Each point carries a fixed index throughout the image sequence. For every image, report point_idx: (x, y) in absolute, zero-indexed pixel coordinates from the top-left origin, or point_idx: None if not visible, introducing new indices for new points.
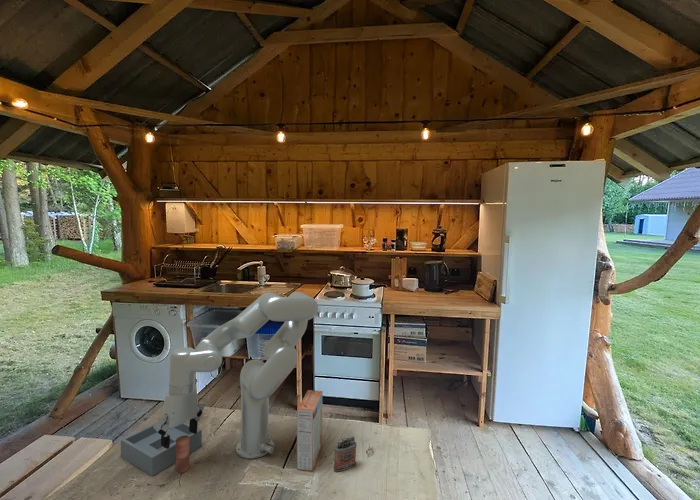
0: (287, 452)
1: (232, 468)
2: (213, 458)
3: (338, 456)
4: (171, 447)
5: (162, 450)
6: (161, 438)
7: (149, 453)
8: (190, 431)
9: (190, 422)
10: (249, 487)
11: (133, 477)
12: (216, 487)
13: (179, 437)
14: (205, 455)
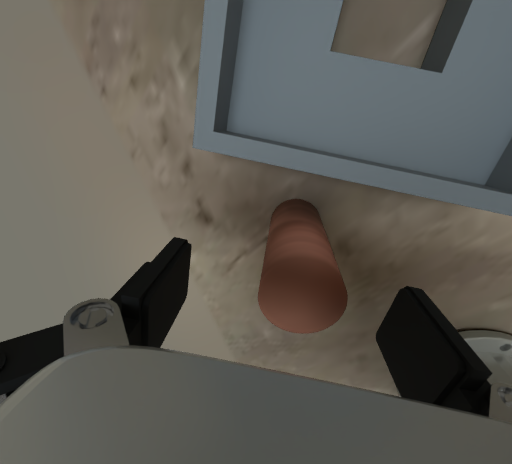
0: None
1: (343, 360)
2: (379, 287)
3: None
4: (311, 172)
5: (266, 147)
6: (118, 295)
7: (213, 91)
8: (396, 301)
9: (440, 361)
10: None
11: (183, 63)
12: (259, 357)
13: (312, 269)
14: (392, 250)
